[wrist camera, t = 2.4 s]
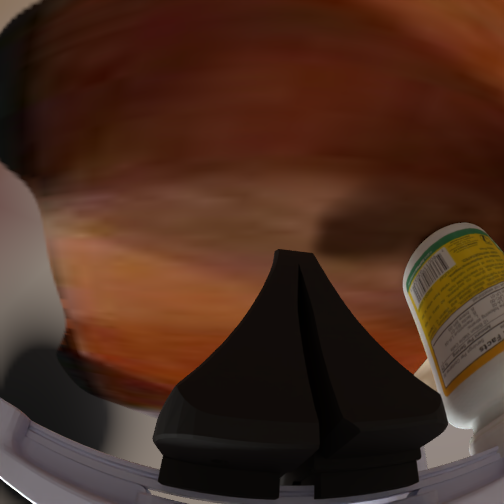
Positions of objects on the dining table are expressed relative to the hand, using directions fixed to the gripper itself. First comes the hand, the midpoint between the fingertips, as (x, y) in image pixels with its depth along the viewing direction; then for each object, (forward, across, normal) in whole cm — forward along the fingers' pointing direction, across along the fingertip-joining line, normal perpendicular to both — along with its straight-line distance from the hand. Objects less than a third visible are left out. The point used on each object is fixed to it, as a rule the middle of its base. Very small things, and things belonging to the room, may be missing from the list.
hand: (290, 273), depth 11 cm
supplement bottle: (+2, -8, 0) cm, 8 cm away
